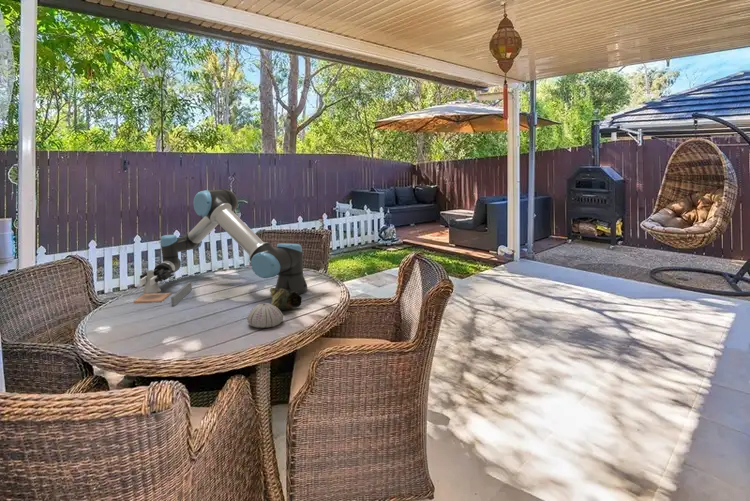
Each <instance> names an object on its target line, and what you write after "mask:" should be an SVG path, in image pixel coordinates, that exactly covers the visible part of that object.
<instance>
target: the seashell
mask: <svg viewBox="0 0 750 501" xmlns="http://www.w3.org/2000/svg"><path fill="white" fill-rule="evenodd" d="M269 290H270V291H269V293H270V297H271V301H270V304H272V305H274V306H276V307H277V308H278V309H279V310H280V311H281V312H282V311H287V310H296V309H297V308H299V307H300V306H301V305H302V303H303V302H302V296H301V294H298V293H297V292H295V291H292V292H288V291H287V290H286V289H278V288H275V287H270V288H269Z"/></svg>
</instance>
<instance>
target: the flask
mask: <svg viewBox="0 0 750 501" xmlns="http://www.w3.org/2000/svg"><path fill="white" fill-rule="evenodd" d="M145 271H146V272H147V282H146V284H144V288H143V291H142V292H143V294H153V293H161V292H162V290H161V288H160V287H159V284H158V282H156V283H155V284H153V285H150V279H151V278H153V277H154V269H150V270H149V269H148V270H145Z"/></svg>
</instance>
